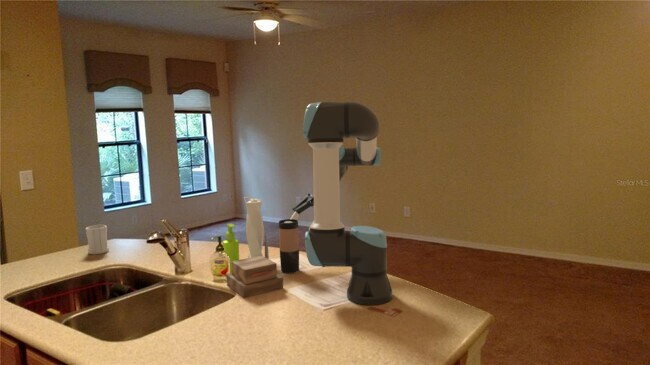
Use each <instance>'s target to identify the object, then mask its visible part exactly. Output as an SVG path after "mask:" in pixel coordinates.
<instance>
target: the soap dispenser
mask: <svg viewBox="0 0 650 365" xmlns="http://www.w3.org/2000/svg"><path fill="white" fill-rule="evenodd" d="M226 226H227V231H226V232H225V239H226V240H223V241H222V245H223V247H222V248H224V250H223V252H224V251H225V253H226V254H227V256H229V258H230V274H232V261H237V260H240V245H239V239H236V233H235V231H234V230H233V229H235V228H236V226H235V224H234V223H231V222H230V223H226Z"/></svg>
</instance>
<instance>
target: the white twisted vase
mask: <svg viewBox="0 0 650 365" xmlns="http://www.w3.org/2000/svg"><path fill="white" fill-rule="evenodd" d="M246 199H249V201H247V200H246ZM243 200H244V202H245V207H246V212H247V214H246V222H245V231H246V232H245V233H246V239H247V240H246V241H247V246H248V250H249V255H248V258H252V257H257V256H263V257H265V258H267V259H269V260H270V256H269V242H268V238H267V237H268V236H267V231H265V229H264V228H265V226H264V221H263V219H264V218H263V216H262V213H261V212H262V211H261V208H262V203H263V199H261V198H254V197H251V196H244V197H243ZM263 244H264V246H263ZM263 247H264V255H263V252H262V250H263Z"/></svg>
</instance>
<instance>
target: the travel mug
mask: <svg viewBox="0 0 650 365" xmlns="http://www.w3.org/2000/svg"><path fill="white" fill-rule="evenodd" d="M278 232H279V233H278V235H279V236H278V239H279V243H278V244H279V259H280V260H279V262H280V271H282V273H284V274H294V273H298V272H299V271H300V240H299V239H300V237H299V220H298V219H297V220H295V219H290V218H287V219H285V218H284V219H281V220H279V221H278Z"/></svg>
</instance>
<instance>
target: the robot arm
mask: <svg viewBox="0 0 650 365" xmlns="http://www.w3.org/2000/svg"><path fill="white" fill-rule="evenodd" d="M302 127H303V128H302V136H303V138H304V139H306V140H307V142H308V143H307V144H308V145H309V147H311V149H312V164H313V165H312V168H313V171H312V174H313V177H312V178H313V180H312V181H313V194H310V192H307V194H306V195H305V196H304V197H303V198H302V199H301V200H300V201H298V202H297V203H296V204H295V205H294V206H293V207H292V208H291V210H293V212H292V214H291V216H290V218H289V219H295V220H298V219H299V217H300V214H301V213H302V212H305V211H306V210H308V209H309V208H310V207H311V208H312V207H313V221H312V223H311V224H310V225H309V228H308V231H307V230H306V231H305V234H304V240H305V241H304V246H305V247H304V248H305V253H306V258H307V260H308V263H309V264H310V265H311V266H312V267H322V268H325V267H333V268H335V267H339V268H340V267H341V268H345V267H347V268H349V267H351V275H350V279H349V283H348V286H347V288H346V298H347V299H348V300H349V301H350V302H352V303H355V304H358V305H363V306H374V305H375V306H376V305H377V306H378V305H383V304H386V303H388V302H390V301H391V300H392V299H393V288H392V287H391V281H390V279H389V276H388V267H387V266H388V263H387V262H388V261H387V260H388V256H387V248H388V244H387V235H386V233H385V232H384V231H383V230H382V229H379V228H377V227H373V226H369V225H354V226H352V227H351V229H350V231H349V230H348V231H346V230H345V228H346V227H345V224H344V223H342V221H341V210H340V209H341V208H340V206H341V203H340V201H341V200H340V198H341V196H340V193H341V192H340V182H341V181H342V179H343V178H344V176H345V174H346V173H347V171H348V170H349V167H375V166H380V165H381V164H382V150H381V147H377V146H378V145H377V141H378V140H377V139H378V136H379V134H380V131H381V122H380V119H379V117H378V115H377V114H376V113H375V111H373V110H372V109H371V108H370V107H368V106H367V105H365V104H363V103H361V102H357V101H320V102H312V103H309V104H308V105H307V106H306V109H305V111H304V116H303V125H302ZM349 138H355V143H356V144H355V146H356V147H344V139H349Z"/></svg>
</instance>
